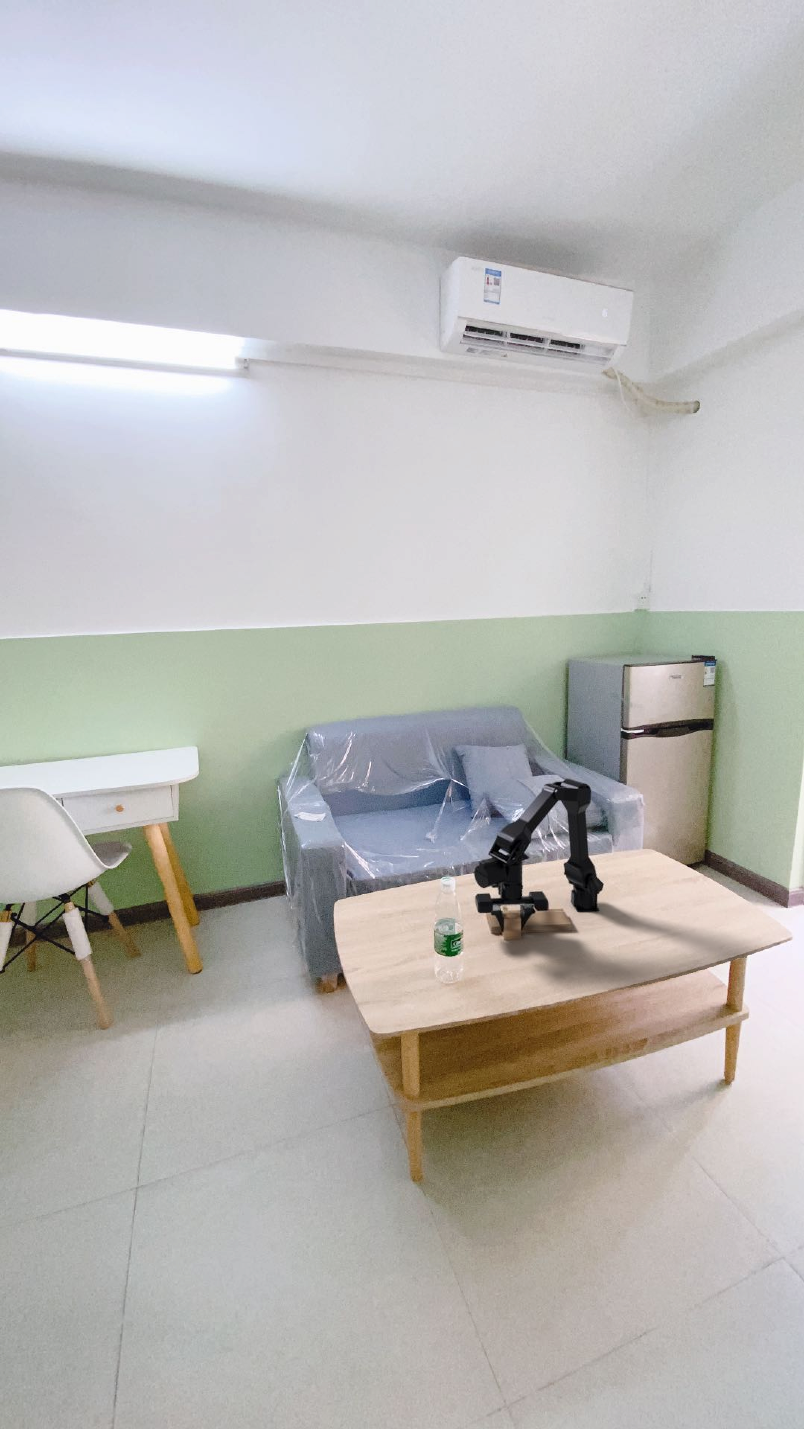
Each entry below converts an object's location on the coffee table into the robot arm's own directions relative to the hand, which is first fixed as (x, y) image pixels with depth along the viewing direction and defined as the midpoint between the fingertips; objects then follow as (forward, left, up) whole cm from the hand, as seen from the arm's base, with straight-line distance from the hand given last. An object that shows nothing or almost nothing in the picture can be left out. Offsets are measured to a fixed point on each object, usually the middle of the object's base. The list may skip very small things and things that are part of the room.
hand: (511, 931), depth 146 cm
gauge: (0, -4, -1) cm, 4 cm away
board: (-6, -6, -2) cm, 8 cm away
